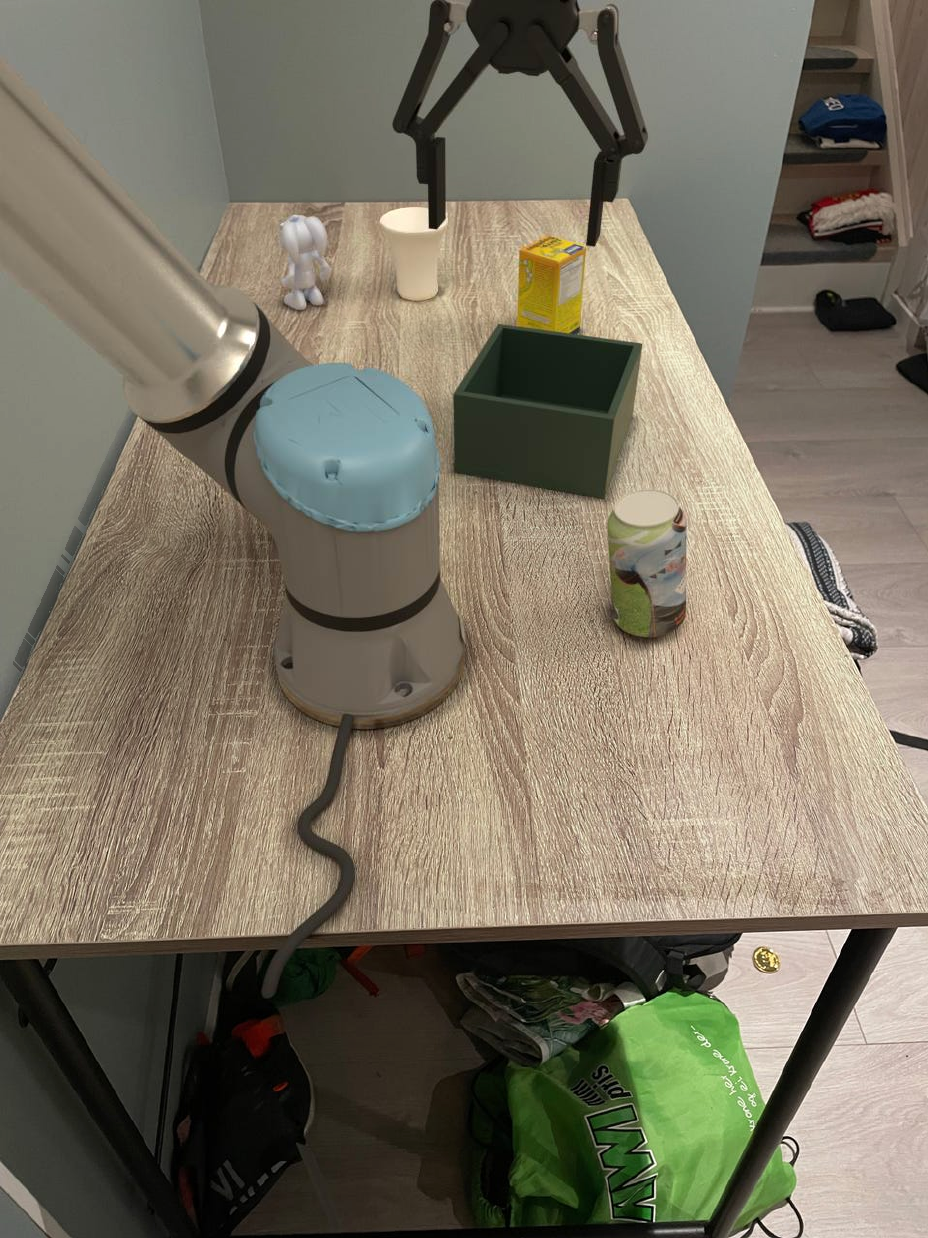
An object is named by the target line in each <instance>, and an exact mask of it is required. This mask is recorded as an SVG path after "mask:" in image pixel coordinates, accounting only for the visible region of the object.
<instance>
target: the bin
mask: <svg viewBox="0 0 928 1238" xmlns="http://www.w3.org/2000/svg"><path fill="white" fill-rule="evenodd" d="M479 351H480V352H479V353H478V354H477V356H476V358H475V359H474V361H473V362H472V364H471V366H470V367H469V368H468V370H467V372H466V374H465V375H464V377H463V378H462V379H461V381H460V382H459V385H458V386H457V387H456V389H455V391H454V392H453V394H452V397H453V398H452V400H453V401H452V402H453V405H452V406H453V459H454V460H453V463H454V466H453V467H454V469H453V471H454V473H456V474H462V475H467V476H473V477H479V478H484V479H490V480H495V481H502V482H507V483H513V484H518V485H523V486H524V485H525V486H530V487H535V488H540V489H546V490H552V491H558V492H563V493H569V494H575V495H580V496H586V497H591V498H597V499H603V500H605V498H606V495H607V493H608V490H609V487H610V484H611V481H612V478H613V475H614V473H615V469H616V467H617V464H618V461H619V458H620V456H621V452H622V449H623V446H624V444H625V441H626V438H627V435H628V433H629V429H630V427H631V424H632V421H633V417H634V416H633V415H634V410H635V402H636V394H637V389H638V388H637V386H638V380H639V373H640V365H641V359H642V351H643V342H642V343H641V342H634V341H627V340H621V339H612V338H606V337H597V336H590V335H584V334H577V333H576V334H570V333H562V332H555V331H548V330H541V329H533V328H526V327H519V326H517V325H513V324H512V325H511V324H503V323H497V325H496V326H495V328H494V329H493V331H492V332H491V334H490V335H489V337H488V339H487V340H486V342H485V344H483V347H482V348H481V350H479Z"/></svg>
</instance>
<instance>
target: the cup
mask: <svg viewBox="0 0 928 1238" xmlns="http://www.w3.org/2000/svg"><path fill="white" fill-rule="evenodd" d="M448 218H449V213H448V211H446V219H445V220H444V222H443V223H442V224H441V225H440V227H439V228H438V229H429V220H428V207H420V206H417V207H416V206H410V207H409V206H408V207H401V208H395V209H393V210H390V211H387V212H386V213H384V214H382V216H381V217H380V219H379V226H380V228H381V230H382V232H383V234H384V236H385V237H386V240H387V242H388V245H389V250H390V254H391V256H392V260H393V264H394V270H395V275H396V283H397V284H396V285H397V287H396V288H397V293H398V295H399V296H400V297H401V298H402V299H404V300H407V301H410V302H411V301H412V302H415V301H416V302H420V301H426V300H430V299H433V298H434V297H436V296H437V293H438V292H439V284H438V268H439V266H438V265H439V264H438V263H439V254H440V250H441V244H442V240H443V237H444V235H445V232H446V229H447V228H448V225H449V219H448Z"/></svg>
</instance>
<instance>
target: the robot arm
mask: <svg viewBox="0 0 928 1238" xmlns="http://www.w3.org/2000/svg"><path fill="white" fill-rule="evenodd" d="M619 14H620V12H619V8H618V7H617V5H615V4H613V3H609V4H606V5H605V7H603V8H593V9H592V8H591V9H581V7H580V6H579V2H578V0H470V2H469V3H468V2H464V1H459V0H433V1H431V4H430V8H429V15H428V16H429V17H428V28H427V29H428V30H427V35H426V38H425V40H424V44H423V45H422V48H421V50H420V53H419V55H418V58H417V60H416V63H415V65H414V68H413V70H412V73H411V75H410V77H409V79H408V83H407V85H406V87H405V90H404V93H403V94H402V97H401V100H400V103H399V105H398V107H397V110H396V112H395V115H394V117H393V120H392V123H391V125H392V129H393V131H394V132H395V133H397V134H404V135H406V136H408V137H410V138H411V140H413V142H414V144H415V161H416V162H415V164H416V168H415V169H416V179H417V182H418V184H419V185H427V206H428V207H427V208H428V220H429V229H438V228H439V227H440V225H441V224H442V223H443V222H444V220H445V219H446V212H447V205H446V203H447V202H446V201H447V198H446V197H447V196H446V195H447V191H446V189H447V188H446V186H447V185H446V182H447V181H446V179H447V178H446V176H447V175H446V174H447V173H446V137H444V136H442V137H441V136H436V133H437V132H438V131H439V129H440V128H441V127H442V125H443V124H444V123H445V122H446V120H447V119H448V117H449V116H450V115H451V114H452V112H453V111H454V110H455V109H456V108H457V106H458V105H459V104H460V102H461V101H462V100H463V99H464V97H465V96H466V95H467V93H468V92H469V91H470V89H471V88H472V87H473V86H474V84H475V83H476V82H477V80H478V79H479V78H480V77H481V75H482V74H483V73H484V72H485V70H486V69H487V68H488V67H489V66H491V67H492V68H493V69H494V70H495V71H497V73H498V74H503V75H511V74H515V73H520V74H523V75H526V76H529V77H530V76H531V77H539V76H540V75H542V74H545V73H547V72H549V74H550V75H551V77H552V79H553V80H554V82H555V83H556V84H557V85H558V86H559V87H560V88H561V89H562V91H563V93H564V94H565V95H566V97H567V99H568V100H569V102H570V104H571V105H572V107H573V108H574V110H575V112H576V113H577V115H578V117H579V118H580V119H581V121H582V123H583V124H584V126H585V127H586V129H587V131H588V132H589V134H590V135H591V137H592V139H593V140H594V141H595V143H596V145H597V146H598V149H600V150H599V152H598V153H597V155H596V158H594V161H593V170H592V181H591V189H590V190H591V191H590V201H589V211H588V221H587V232H586V240H585V246H586V247H593V248H595V247H596V246H597V243H598V241H599V239H600V236H601V229H602V220H603V213H604V212H603V211H604V203H613V202H614V201H615V198H616V197H617V194H618V193H619V186H620V179H621V172H622V171H621V169H622V164H623V163H622V162H623V159H624V158H625V157H627V156H630V155H640V154H641V153H642V152H643V151H644V149H645V147H646V145H647V142H648V140H649V133H648V129H647V126H646V124H645V120H644V117H643V113H642V111H641V108H640V107H641V106H640V104H639V100H638V97H637V95H636V91H635V88H634V85H633V82H632V79H631V75H630V71H629V69H628V66H627V62H626V59H625V56H624V52H623V50H622V47H621V43H620V40H619V35H620V34H619V32H620V31H619V30H620V29H619V23H620V21H619V20H620V19H619V18H620V17H619V16H620V15H619ZM463 22H466V25H467V27H468V28H469V30H470V32H471V33H472V36H473V38H474V39H475V41H476V43H477V44H478V46H477V48H475V50H474V52H473V53H472V54H471V55H470V57H469V59H467V61H466V62H465V64H464V65H463V67H462V68H461V69H460V70H459V72H458V73H457V75H456V76H455V77H454V79H453V80H452V81H451V83H450V84H449V85H448V87H447V88H446V89H445V90H444V92H443V93H442V94H441V96H440V97H439V99H438V100H437V101H436V102H435V104H434V105H433V107H432V108H431V109H430V110H429V112H428V113H427V114H426V116H425V117H424V118H423V117H421V116H419V112H420V110H421V108H422V106H423V104H424V101H425V98H426V96H427V93H428V91H429V89H430V87H431V84H432V82H433V80H434V78H435V75H436V73H437V70H438V68H439V65H440V63H441V61H442V58H443V56H444V53H445V51H446V49H447V47H448V45H449V41H450V39H451V35H454V34H456V32H458V31H459V29H460V28H461V24H462V23H463ZM579 29H581V30H584V31H585V33H586V35H587V38H588V41H589V43H591V44H592V45H596V47H597V51H598V57H599V61H600V64H601V67H602V70H603V73H604V77H605V80H606V82H607V86H608V88H609V91H610V95H611V97H612V101H613V104H614V107H615V110H616V114H617V116H618V120H619V123H620V125H621V128H622V131H623V134H622V135H621V134H620V132H619V131H618V128H617V127H616V125H615V123H614V122H613V121H612V119H611V118H610V116H609V114H608V112H607V110H606V109H605V108H604V106H603V105H602V103H601V100H600V99H599V98H598V97H597V95H596V93H595V91H594V90H593V88H592V86H591V85H590V83H589V82H588V79H587V78H586V77H585V75H584V74H583V72H582V71H581V69H580V66H579V63H578V61H577V59H576V57H575V56H574V54H573V52H572V51H571V49H570V47H569V46H568V45H569V44H570V42H571V41H572V40H573V38H574V37H575V35H576V34H577V33H578V32H579ZM0 270H1V271H2V272H3V273H5V274H6V276H8V278H10V279H12V281H14V282H15V283H16V284H17V285H18V286H20V287H21V288H22V289H23V290H24V291H26V292H27V294H29V295H30V296H31V297H33V298H34V299H35V300H36V301H37V302H38V303H39V304H40V305H41V306H42V307H44V308H45V309H46V310H47V311H49V313H51V314H52V315H53V316H54V317H56V318H57V319H58V320H59V321H60V322H61V323H62V324H63V325H65V326H66V327H67V328H68V329H69V331H71V332H73V333H74V334H75V335H76V336H77V337H78V338H79V339H81V340H82V341H83V342H84V344H86V345H87V346H89V347H90V348H91V349H92V350H93V351H94V352H96V353H97V354H98V355H99V356H100V357H101V358H103V360H104V361H106V362H107V363H108V364H109V365H111V366H112V367H113V368H114V369H115V370H117V371H118V372H119V373H120V374H121V375H122V393H123V397H124V401H125V403H126V405H127V407H128V408H129V409H130V410H131V411H132V413H134V414H135V415H136V416H137V417H138V418H139V419H140V420H142V421H143V422H144V423H146V425H148V426H149V427H150V428H151V429H153V430H154V431H155V432H156V433H157V434H158V435H160V436H161V437H162V438H163V439H165V440H166V441H167V443H168V444H169V445H170V446H171V447H173V449H174V450H176V451H177V452H178V453H180V454H181V455H182V456H184V457H185V459H188V460H189V461H191V462H192V463H193V464H194V465H196V466H197V468H199V469H200V470H201V471H203V472H204V473H205V474H206V475H207V476H208V477H209V478H211V479H212V480H213V481H214V482H215V483H216V484H217V485H218V486H219V487H221V488H222V489H223V490H224V491H225V492H226V493H227V494H228V495H229V496H231V498H233V499H234V500H235V501H236V502H237V503H238V504H239V505H240V506H241V507H242V508H243V509H244V510H246V511H247V512H248V513H249V514H250V515H251V516H252V517H254V519H256V520H257V522H259V523H260V524H261V525H262V526H263V527H265V528H266V529H267V530H268V531H269V532H270V535H271V536H272V539H273V540H274V542H275V545H276V548H277V554H278V559H279V565H280V570H281V573H282V579H283V584H284V589H285V590H284V591H285V597H284V601H283V606H282V609H281V614H280V618H279V622H278V626H277V631H276V634H275V638H274V643H273V660H274V666H275V670H276V675H277V678H278V683H279V685H280V687H281V689H282V691H283V693H284V695H285V696H286V697H287V699H288V700H289V701H290V702H291V703H292V705H294V706H295V707H296V708H297V709H299V711H301V712H302V713H303V714H305V715H307V716H309V717H310V718H312V719H314V720H317V721H319V722H321V723H324V724H327V725H331V726H334V727H338V730H337V735H336V738H335V742H334V746H333V749H332V753H331V758H330V762H329V768H328V773H327V778H326V782H325V784H324V788H323V790H322V791H321V794H319V796H318V797H317V798H316V799H315V800H314V801H313V802H311V803H310V804H309V805H308V806H307V807H306V808H305V809H304V810H303V811H302V813H301V814H300V816H299V817H298V820H297V826H296V827H297V832H298V835H299V837H300V839H301V840H302V842H303V843H305V845H306V846H307V847H310V848H311V849H312V850H315V852H318V853H321V854H323V855H324V856H327V857H329V858H331V859H333V860H334V861H335V862H336V863H338V865H339V866H340V879H339V883H338V885H337V887H336V890H335V891H334V893H333V894H332V895H331V897H330V898H329V899H328V900H327V901H326V902H325V903H324V904H322V905H321V906H320V907H319V908H318V909H317V910H315V912H313V914H311V915H310V916H309V917H307V918H306V919H305V920H304V921H303V922H302V923H301V924H300V925H298V927H296V928H295V929H294V930H293V931H292V932H291V933H290V934H289V935H288V936H287V937H286V939H285V940H284V941H283V942H282V944H280V946H279V947H278V949H277V950H276V952H275V954H274V955H273V957H272V959H271V960H270V963H269V965H268V968H267V970H266V972H265V975H264V978H263V982H262V986H261V991H260V992H261V996H262V998H264V999H266V1000H267V999H270V998H272V997H273V996H274V995H276V992H277V988H278V986H279V982H280V978H281V976H282V973H283V971H284V968H285V966H286V964H287V963H288V961H289V960H290V958H291V957H292V955H293V954H294V953H295V951H296V950H297V949H298V948H299V947H300V946H301V944H303V943H304V941H306V940H307V939H308V938H309V937H311V935H312V934H313V933H314V932H316V930H318V929H319V928H320V927H321V926H323V925H324V924H325V923H326V922H327V921H328V920H329V919H331V917H333V915H335V914H336V913H337V912H338V911H339V910H340V908H341V907H342V906H343V904H344V903H345V902H346V900H347V899H348V897H349V896H350V894H351V892H352V889H353V886H354V882H355V874H356V873H355V872H356V869H355V864H354V860H353V858H352V857H351V855H350V853H348V852H347V851H346V849H344V848H342V846H339V845H338V844H335V843H334V842H332V841H329V840H327V839H325V838H323V837H321V836H320V835H318V834H316V833H315V832H313V830H312V826H311V825H312V824H311V823H312V821H313V820H314V819H315V818H316V817H317V816H318V815H319V814H320V813H322V812H323V811H324V810H325V809H326V808H327V807H328V806H329V805H330V804H331V802H332V801H333V799H334V797H335V795H336V793H337V790H338V787H339V785H340V781H341V778H342V777H341V776H342V772H343V763H344V759H345V755H346V750H347V747H348V743H349V739H350V735H351V731H352V730H375V729H384V728H389V727H394V726H398V725H403V724H404V723H408V722H411V721H413V720H415V719H418V718H420V717H421V716H423V715H426V714H427V713H429V712H431V711H432V710H433V709H435V708H437V706H439V705H440V704H441V703H443V702H444V701H445V700H446V699H447V697H449V696H450V694H451V693H452V692H453V691H454V690H455V688H456V687H457V685H458V683H459V681H460V679H461V678H462V675H463V673H464V669H465V665H466V664H465V663H466V645H467V640H466V633H465V627H464V626H465V625H464V620H463V619H464V618H463V616H462V614H461V612H460V609H459V608H457V609H458V613H457V611H456V609H455V607H454V605H453V602H452V600H451V598H450V596H449V594H448V591H447V589H446V587H445V585H444V583H443V581H442V578H441V547H440V546H441V545H440V540H441V539H440V538H441V537H440V471H441V460H440V459H441V458H440V455H439V449H438V446H437V439H436V432H435V427H434V426H435V425H434V422H433V418H432V415H431V413H430V410H429V409H428V407H427V405H426V404H425V402H424V401H423V399H422V398H421V396H419V394H418V393H417V392H416V391H415V390H414V389H413V388H412V387H411V386H409V385H408V384H407V383H405V382H404V381H403V380H401V379H399V378H398V377H397V376H394V375H392V374H390V373H388V372H386V371H383V370H381V369H378V368H375V367H372V366H365V367H363V368H361V369H356V368H354V365H353V364H352V363H350V362H349V363H348V362H328V363H327V362H325V363H317V364H314V363H313V362H311V361H310V360H309V359H307V358H306V357H305V356H304V355H303V354H302V353H300V351H299V350H297V349H296V348H295V347H294V346H293V345H292V343H290V341H289V340H288V339H287V338H286V337H285V336H284V335H283V334H282V332H281V331H280V330H279V329H278V328H277V327H276V325H275V324H274V322H272V321H271V320H270V319H269V317H268V316H267V315H266V313H264V312H263V310H261V308H260V307H259V306H258V305H257V304H256V303H255V301H254V300H253V299H252V298H251V297H250V296H249V295H248V293H246V292H245V291H243V290H242V289H240V288H238V287H235V286H232V285H226V284H224V285H223V284H215V285H210V283H208V281H207V280H206V279H205V277H203V276H202V275H201V273H200V272H199V271H198V270H197V269H196V268H195V267H194V266H193V264H192V263H191V262H190V261H189V260H188V259H187V257H185V256H184V254H183V253H181V251H180V250H179V249H178V248H177V247H176V246H175V244H173V243H172V241H171V240H170V239H169V237H167V236H166V235H165V233H163V232H162V230H161V229H160V228H159V227H158V226H157V224H155V223H154V221H152V219H151V218H150V217H149V216H148V214H147V213H145V212H144V210H143V209H142V208H141V207H140V206H139V205H138V204H137V202H136V201H134V199H133V198H132V197H131V196H130V195H129V194H128V192H126V191H125V190H124V188H123V187H122V186H121V184H119V183H118V181H116V179H114V177H113V175H111V174H110V173H109V172H108V170H107V169H106V168H105V167H104V166H103V165H102V164H101V162H99V160H98V159H96V157H95V156H94V155H93V154H92V153H91V152H90V150H89V149H87V147H86V146H85V145H84V144H83V143H82V142H81V140H79V138H77V136H76V135H75V134H74V133H73V132H72V131H71V130H70V128H69V127H68V126H67V125H66V124H65V123H64V122H63V121H62V119H61V118H59V116H58V115H57V114H56V113H55V112H54V110H52V108H50V106H49V105H48V104H47V103H46V102H45V101H44V99H42V98H41V96H40V95H39V94H38V93H37V92H36V91H35V90H34V89H33V88H32V86H31V85H30V84H29V83H28V82H27V81H26V80H25V79H24V78H23V76H21V74H20V73H19V72H18V71H17V70H16V69H15V67H13V66H12V65H11V63H10V62H9V61H8V60H7V59H6V58H5V56H3V54H1V53H0ZM295 1143H296V1147H297V1149H298V1152H299V1154H300V1157H301V1159H302V1161H303V1163H304V1166H305V1168H306V1170H307V1172H308V1175H309V1177H310V1179H311V1182H312V1183H313V1186H314V1188H315V1191H316V1193H317V1195H318V1197H319V1200H320V1202H321V1204H322V1207H323V1209H324V1212H325V1214H326V1217H327V1221H328V1223H329V1226H330V1229H331V1231H333V1232H339V1230H340V1229H341V1221H340V1218H339V1215H338V1212H337V1208H336V1206H335V1203H334V1201H333V1198H332V1196H331V1193H330V1190H329V1188H328V1186H327V1183H326V1181H325V1179H324V1176H323V1174H322V1171H321V1169H320V1166H319V1164H318V1162H317V1159H316V1157H315V1154H314V1152H313V1148H312V1147H310V1146H307V1145H304V1144H302V1143H299V1142H295Z"/></svg>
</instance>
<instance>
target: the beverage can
mask: <svg viewBox="0 0 928 1238" xmlns="http://www.w3.org/2000/svg"><path fill="white" fill-rule="evenodd" d="M687 522H688V521H687V517H686V514H685V512H684V511H683V509H682V508H681V507H680V504H679V501H678V499H677V498H676V497H675V496H674V495H672V494H671V493H668V492H666V491H664V490H660V489H653V488H652V489H651V488H650V489H649V488H647V489H646V488H645V489H638V490H633V491H630V492H628V493H625V494H624V495H622V496H621V497H619V498H618V499H617V500H616V501H615V503H614V505H613V510H612V511H611V512H610V514H609V516H608V518H607V522H606V528H607V544H608V560H609V562H608V563H609V574H610V575H609V577H610V594H611V608H612V618H613V621H614V622H615V624H616V626H617V627H619V628H620V629H621V630H622V631H624V632H626V633H628V634H629V635H633V636H637V637H643V638H655V637H656V638H657V637H661V636H663V635H667V634H669V633H672V632H674V631H675V630H677V629H678V628H679V627H681V626H682V624H683V623H684V621H685V619H686V616H687V535H688V534H687V531H688V530H687Z"/></svg>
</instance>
